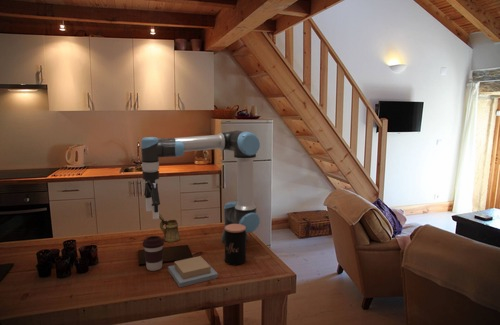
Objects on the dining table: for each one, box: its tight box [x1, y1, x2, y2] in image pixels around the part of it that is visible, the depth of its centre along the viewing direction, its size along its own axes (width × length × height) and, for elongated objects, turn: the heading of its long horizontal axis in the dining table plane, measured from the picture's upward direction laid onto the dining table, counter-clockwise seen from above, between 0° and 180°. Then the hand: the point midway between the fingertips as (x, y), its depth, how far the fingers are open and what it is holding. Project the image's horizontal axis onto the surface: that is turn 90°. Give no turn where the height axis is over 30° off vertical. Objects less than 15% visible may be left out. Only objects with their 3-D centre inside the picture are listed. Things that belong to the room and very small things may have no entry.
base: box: [167, 255, 219, 288], centre depth 162 cm, size 18×18×5 cm
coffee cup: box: [142, 235, 165, 271], centre depth 168 cm, size 10×10×15 cm
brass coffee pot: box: [159, 212, 181, 243], centre depth 203 cm, size 9×14×18 cm, turn 103°
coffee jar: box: [224, 224, 247, 266], centre depth 176 cm, size 11×11×18 cm
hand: (152, 214), depth 165 cm, fingers open, 13 cm apart
